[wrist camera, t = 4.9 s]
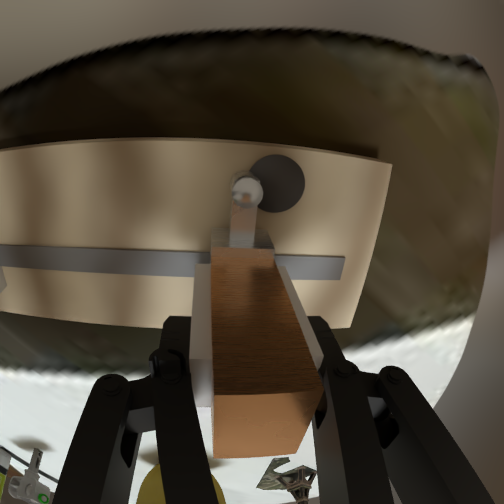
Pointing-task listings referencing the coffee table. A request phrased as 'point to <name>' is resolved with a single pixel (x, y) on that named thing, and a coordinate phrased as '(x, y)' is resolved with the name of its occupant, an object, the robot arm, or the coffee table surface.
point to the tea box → (3, 468)
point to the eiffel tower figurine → (289, 480)
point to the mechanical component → (30, 483)
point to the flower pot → (153, 493)
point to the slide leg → (255, 340)
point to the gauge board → (176, 224)
